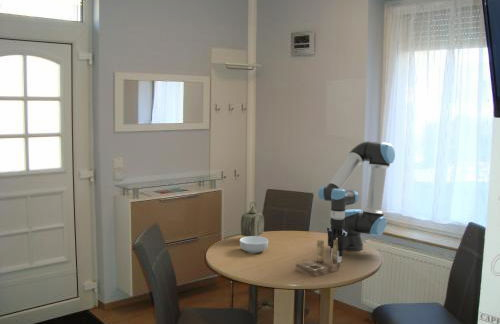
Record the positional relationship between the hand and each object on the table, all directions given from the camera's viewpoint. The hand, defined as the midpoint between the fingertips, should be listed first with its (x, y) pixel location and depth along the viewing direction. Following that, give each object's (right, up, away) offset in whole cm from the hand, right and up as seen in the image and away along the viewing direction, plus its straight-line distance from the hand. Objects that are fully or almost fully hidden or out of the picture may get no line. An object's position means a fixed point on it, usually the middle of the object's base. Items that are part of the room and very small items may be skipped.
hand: (336, 260), depth 268 cm
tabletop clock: (-45, +3, +46) cm, 64 cm away
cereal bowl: (-44, 0, +24) cm, 50 cm away
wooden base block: (-12, -3, -8) cm, 14 cm away
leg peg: (0, -3, 0) cm, 3 cm away
